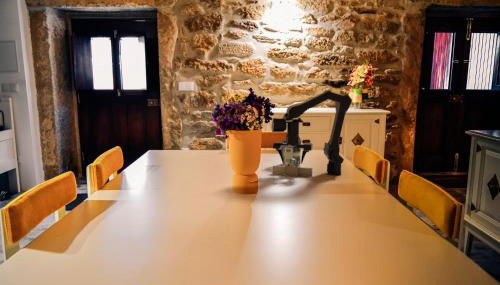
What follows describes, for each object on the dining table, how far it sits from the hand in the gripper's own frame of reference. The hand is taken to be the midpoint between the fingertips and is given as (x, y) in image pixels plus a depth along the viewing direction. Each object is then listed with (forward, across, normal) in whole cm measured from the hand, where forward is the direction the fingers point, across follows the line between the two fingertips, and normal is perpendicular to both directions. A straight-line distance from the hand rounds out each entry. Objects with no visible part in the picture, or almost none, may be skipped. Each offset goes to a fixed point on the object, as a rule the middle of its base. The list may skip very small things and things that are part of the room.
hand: (292, 163), depth 181 cm
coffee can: (+6, +4, -20) cm, 22 cm away
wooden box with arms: (+6, 0, 0) cm, 6 cm away
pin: (+6, 0, 0) cm, 6 cm away
